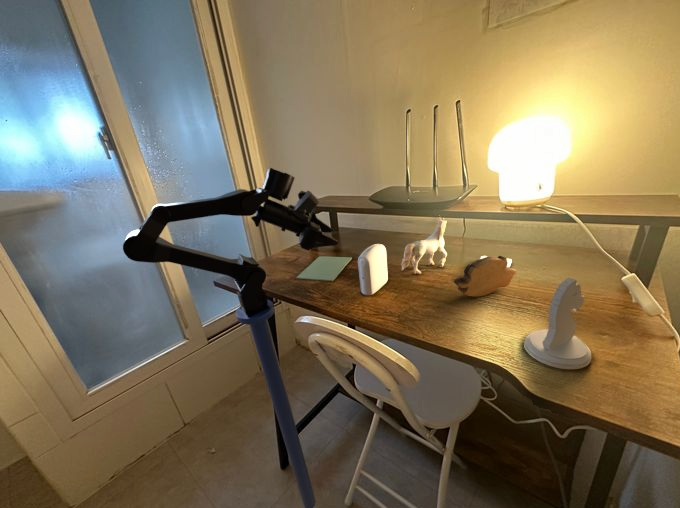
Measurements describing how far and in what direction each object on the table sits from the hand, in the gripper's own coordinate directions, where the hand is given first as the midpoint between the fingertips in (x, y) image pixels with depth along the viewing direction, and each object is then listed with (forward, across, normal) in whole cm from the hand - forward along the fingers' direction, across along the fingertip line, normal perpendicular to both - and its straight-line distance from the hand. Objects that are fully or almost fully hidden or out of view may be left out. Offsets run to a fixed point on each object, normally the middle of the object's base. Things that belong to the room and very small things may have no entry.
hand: (334, 236), depth 83 cm
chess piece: (+34, -42, -8) cm, 55 cm away
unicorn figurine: (+31, +2, -1) cm, 31 cm away
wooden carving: (+36, -19, -6) cm, 41 cm away
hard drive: (+44, -9, -10) cm, 46 cm away
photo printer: (+16, -6, +8) cm, 19 cm away
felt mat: (+6, +13, +16) cm, 21 cm away
